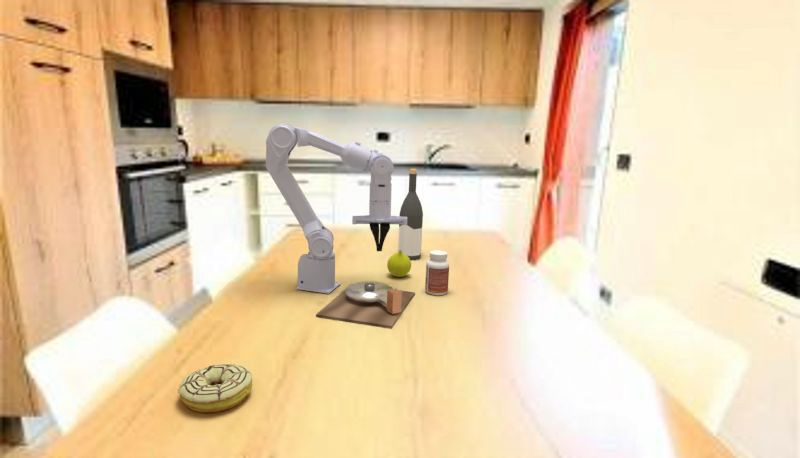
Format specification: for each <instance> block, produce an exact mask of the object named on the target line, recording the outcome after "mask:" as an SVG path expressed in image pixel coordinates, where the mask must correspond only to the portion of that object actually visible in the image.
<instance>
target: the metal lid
mask: <svg viewBox="0 0 800 458" xmlns="http://www.w3.org/2000/svg"><path fill="white" fill-rule="evenodd" d="M345 289H346V290H345ZM345 289H344V290H345V294H346V296H347V297H348V298H350V299H352V300H355V301H360V302H379V303H380V304H382V305H384V306H385V307H387V311H388V312H390V313H391V314H395V313H399V312H401V299H402V292H401V291H402V290H401V291H399V290H400V289H397V288H393V287H392V286H390V285H389V284H386V283H385V282H384V283H383V282H378V281H359V282H354V283H351V284H348V285H347V286H346V288H345Z"/></svg>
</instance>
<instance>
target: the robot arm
mask: <svg viewBox="0 0 800 458" xmlns="http://www.w3.org/2000/svg"><path fill="white" fill-rule="evenodd" d="M265 146H266V147H265V148H266V150H265V168H266V170H267V171H268V173H269V176H271V178H272V180H273V182H274V183H275V186H276V187H277V189H278V190H279V192H280V194H281V195H282V197H283V199H284V200H285V202H286V204H287V206H288V208H290V211H291V212H292V214H293V215H294V217H295V219H296V221H297V222H298V224H299V225H300V227H301V229H302V232H303V235H304V238H305V239H306V241H307V244H308V245H307V246H308V252H307V253H303V254H301V256H300V257H299V259H298V261H297V287H296V290H299V291H300V290H301V291H308V292H315V293H322V294H331V293H332V292H333V291H334V290H336V288H338V287H339V286H340V285H341V282H338V281H337V282H336V253H335V252H334V241H335V240H334V239H335V238H334V235H333V233H332V231H330V229H328V228H327V227H325V226H324V224H323V223H322V221H321V220H320V219H319V218H318V216H317V214H316V212H315V210H314V208H313V207H312V205H311V204H310V202H309V201H308V198H307V197H306V196H305V194H304V192H303V190H302V188H301V187H300V185H299V184H298V181H297V180H296V178H295V176H294V175H293V173H292V172H291V171H292V170H290V168H289V166H288V162H289V160H290V157H291V153H292V151H293V150H294V149H295V147H296V146H297V148H300V147H309V146H311V147H313V148H316V149H319V150H321V151H325V152H328V153H330V154H333V155H336V156H339V157H340V158H341V161H342V163H343V164H345V165H347V166H349V167H350V166H351V167H353V168H355V169H358V170H360V171H363V172H366V173H367V172H370V183H369V201H368V202H369V203H368V205H369V212H368V213H369V214H368V215H352V218H351V219H352V221H351V222H352V225H369V229H370V231H371V235H372V236H373V239H374V242H375V246H376V252H382V251H383V246H384V243H385V240H386V237H387V235H388V232H389V231H390V230H391V225H399V224H403V225H407V217H401V216H400V215H399V216H398V215H392V214H391V213H392V174H393V173H394V169H395V167H394V163H393V161H392V159H391V158H390V157H389V156H387V155H385V154H383V153H380V152H379V150H377V149H369V148H367V147H364V146H362V143H360V142H358V141H355V142H353V141H349V142H348V143H345V144H344V143H341V142H338V141H336V140H333V139H331V138H329V137H326V136H325V135H322V134H320V133H317V132H315V131H313V130H311V129H307V128H303V127H297V126H293V125H291V124H285V123H279V124H276V125H274V126H273V127H271V129H270V130H269V132H268V136H267V138H266V140H265Z"/></svg>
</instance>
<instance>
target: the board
mask: <svg viewBox="0 0 800 458" xmlns="http://www.w3.org/2000/svg"><path fill="white" fill-rule="evenodd" d="M345 290H346V288H345V289H343V290H342V291H341V292H340V293H339V294H338V295H336V297H334V298H332V299H331V301H329V302H328V304H326V305H325V306H324V307H322V309H320V310H319V311H318V312H317V313H316V314H315V318H321V319H327V320H334V321H340V322H341V321H342V322H349V323H354V324H358V325H366V326H373V327H380V328H385V329H386V328H387V329H392V328H393V327H394V326H395V324H396V323H397V322H398V320H399V319H400V317H401V316H402V314H403V313H404V311H405V310H406V308H407V307H408V305H409V304H410V302H411V301H412V299H413V298H414V296H415V295H416V292H415V291H408V290H401V289H398V290H399V291H401V292H402V299H401V312H399V313H395V314H391V313H390V312H388V311H387V307H385V306H384V305H382V304H380V303H379V302H360V301H355V300H352V299H350V298H348V297H347V296H346V294H345Z"/></svg>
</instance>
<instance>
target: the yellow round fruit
mask: <svg viewBox="0 0 800 458" xmlns="http://www.w3.org/2000/svg"><path fill="white" fill-rule="evenodd" d="M411 261H412V260H410V259H409V257H408V256H407V255H405V254H403V253H402V249H399V252H398V251H397V252H396V253H393V254H392V255H390V257H389V258H388V260H387V264H386V265H387V266H386V267H387V270H388V272H389V274H390V275H392V276H393V277H397V278H401V277H406V276H407V275H408V274H409V273H410V271H411V268H412V262H411Z"/></svg>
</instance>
